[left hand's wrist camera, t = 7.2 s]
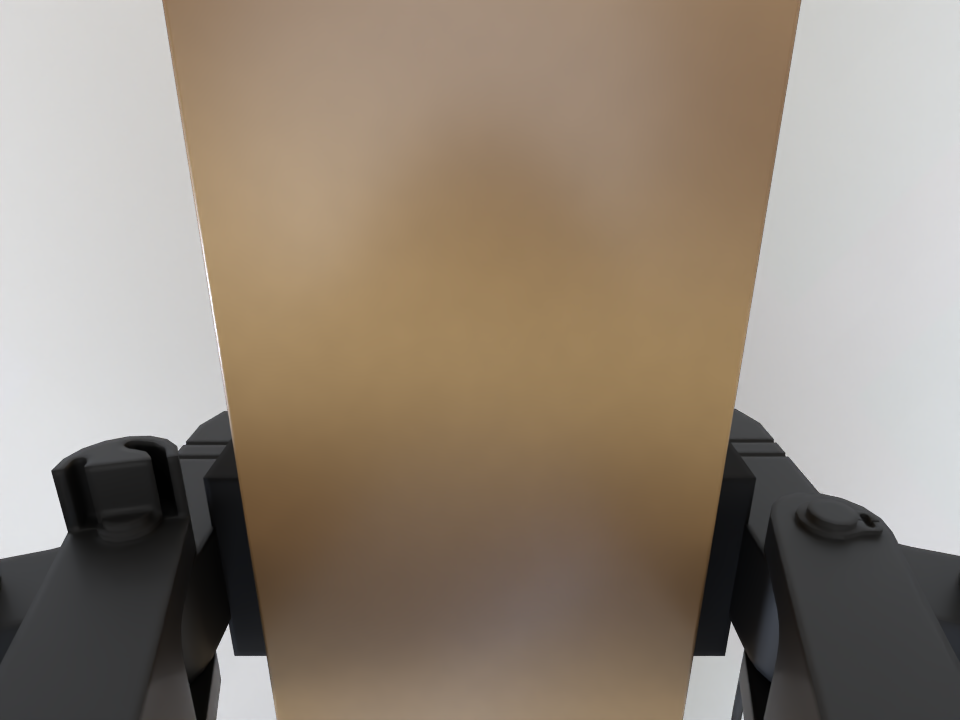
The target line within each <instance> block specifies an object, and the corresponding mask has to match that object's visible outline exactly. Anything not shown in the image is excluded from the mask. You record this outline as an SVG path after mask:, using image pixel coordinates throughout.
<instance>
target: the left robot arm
mask: <svg viewBox="0 0 960 720" xmlns="http://www.w3.org/2000/svg"><path fill="white" fill-rule="evenodd" d="M51 472H52V475H53V479H54V483H55V486H56V490H57V494H58V497H59V501H60V504H61V508H62V512H63V515H64V519H65V523H66V526H67V530H68V534H67V536H66V538H65V539H64V541H63V543H62V545H61V547H59V548H55V549H50V550H46V551H40V552H35V553H30V554H25V555H19V556H14V557H9V558H4V559H0V720H216V716H217V708H218V700H219V692H220V684H221V677H220V670H219V664H218V659H217V654H216V649H217V647H218V645H219V643H220V641H221V639H222V636H223V634H224V632H225V630H226V628H227V626H228V624H229V627H230V633H231V639H232V644H233V650H234V655H235V656H267V655H266V648H265V642H264V636H263V630H262V623H261V617H260V611H259V604H258V598H257V592H256V586H255V579H254V573H253V567H252V560H251V554H250V548H249V542H248V535H247V529H246V523H245V516H244V510H243V504H242V498H241V491H240V485H239V479H238V472H237V466H236V460H235V454H234V447H233V441H232V435H231V428H230V422H229V416H228V411H224V412H222V413H220V414H218V415H217V416H215V417H213V418H212V419H210V420H208V421H207V422H205V423H203V424H201V425H200V426H199V427H198V428H197V429H196V431H195V432H194V433H193V434H192V435H191V437H190V438H189V439H188V440H187V441H186V445H183V446H182V447H181V448H180V450H179V451H178V449H177V446H176V445H175V444H173V443H172V442H170V441H169V440H168V439H164V438H159V437H154V436H129V437H123V438H118V439H112V440H107V441H103V442H100V443H97V444H95V445H92V446H89V447H86V448H83V449H81V450H79V451H77V452H75V453H73V454H72V455H70V456H68V457H66V458H64V459H63V460H62V461H61V462H60V463H59V464H58V465H57V466H56V467H55V468H54V469H53V470H52V471H51ZM731 622H732V624H733V626H734V628H735V630H736V632H737V634H738V636H739V638H740V641H741V643H742V645H743V647H744V654H743V659H742V664H741V669H740V675H739V680H738V685H737V690H736V696H735V701H734V706H733V712H732V718H731V720H741V717H742V712H743V714H744V720H960V556H957V555H951V554H946V553H941V552H935V551H930V550H925V549H920V548H914V547H909V546H905V545H901V544H898V542H897V540H896V538H895V536H894V534H893V532H892V531H891V530H890V529H889V527H888V526H887V525H886V524H885V523H884V521H883V520H882V519H881V518H879V517H878V516H876V515H875V514H873V513H872V512H870V511H869V510H867V509H866V508H864V507H862V506H860V505H857V504H855V503H852V502H850V501H847V500H845V499H842V498H839V497H834V496H829V495H825V494H820V493H819V492H818V491H817V490H816V489H815V488H814V486H813V485H812V484H811V483H810V482H809V480H808V479H807V478H806V477H805V476H804V475H803V473H802V472H801V471H800V470H799V469H798V468H797V466H796V465H795V464H794V463H793V462H792V460H791V459H790V458H789V457H785V452H784V451H783V450H782V449H781V447H780V446H779V445H778V444H777V443H774V439H773V438H772V437H771V436H770V435H769V433H768V432H767V431H766V430H765V429H764V427H763V426H762V425H761V424H760V423H759V422H757V421H755V420H754V419H752V418H750V417H749V416H747V415H745V414H743V413H742V412H740V411H738V410H736V409H734V412H733V418H732V424H731V430H730V436H729V442H728V448H727V454H726V460H725V466H724V472H723V479H722V485H721V491H720V497H719V503H718V509H717V515H716V521H715V527H714V533H713V539H712V545H711V551H710V558H709V564H708V570H707V576H706V582H705V588H704V594H703V600H702V606H701V612H700V618H699V624H698V630H697V637H696V643H695V649H694V655H693V656H725V652H726V647H727V641H728V635H729V630H730V624H731Z"/></svg>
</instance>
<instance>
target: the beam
mask: <svg viewBox="0 0 960 720" xmlns="http://www.w3.org/2000/svg"><path fill="white" fill-rule="evenodd" d="M162 1H163V7H164V14H165V20H166V26H167V32H168V39H169V45H170V51H171V58H172V64H173V70H174V76H175V83H176V89H177V95H178V102H179V108H180V114H181V120H182V127H183V133H184V139H185V146H186V152H187V158H188V164H189V171H190V177H191V183H192V190H193V196H194V202H195V208H196V215H197V221H198V227H199V234H200V240H201V246H202V252H203V259H204V265H205V271H206V278H207V284H208V290H209V296H210V303H211V309H212V315H213V322H214V328H215V334H216V340H217V347H218V353H219V359H220V366H221V372H222V378H223V384H224V391H225V397H226V403H227V410H228V416H229V422H230V428H231V435H232V441H233V447H234V454H235V460H236V466H237V472H238V479H239V485H240V491H241V498H242V504H243V510H244V516H245V523H246V529H247V535H248V542H249V548H250V554H251V560H252V567H253V573H254V579H255V586H256V592H257V598H258V604H259V611H260V617H261V623H262V630H263V636H264V642H265V648H266V655H267V661H268V667H269V674H270V680H271V686H272V692H273V699H274V705H275V711H276V718H277V720H683V716H684V709H685V703H686V697H687V691H688V685H689V679H690V673H691V667H692V661H693V655H694V649H695V643H696V637H697V630H698V624H699V618H700V612H701V606H702V600H703V594H704V588H705V582H706V576H707V570H708V564H709V558H710V551H711V545H712V539H713V533H714V527H715V521H716V515H717V509H718V503H719V497H720V491H721V485H722V479H723V472H724V466H725V460H726V454H727V448H728V442H729V436H730V430H731V424H732V418H733V412H734V406H735V400H736V393H737V387H738V381H739V375H740V369H741V363H742V357H743V351H744V345H745V339H746V333H747V327H748V321H749V314H750V308H751V302H752V296H753V290H754V284H755V278H756V272H757V266H758V260H759V254H760V248H761V242H762V235H763V229H764V223H765V217H766V211H767V205H768V199H769V193H770V187H771V181H772V175H773V169H774V163H775V156H776V150H777V144H778V138H779V132H780V126H781V120H782V114H783V108H784V102H785V96H786V90H787V84H788V77H789V71H790V65H791V59H792V53H793V47H794V41H795V35H796V29H797V23H798V17H799V11H800V5H801V0H162Z"/></svg>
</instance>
